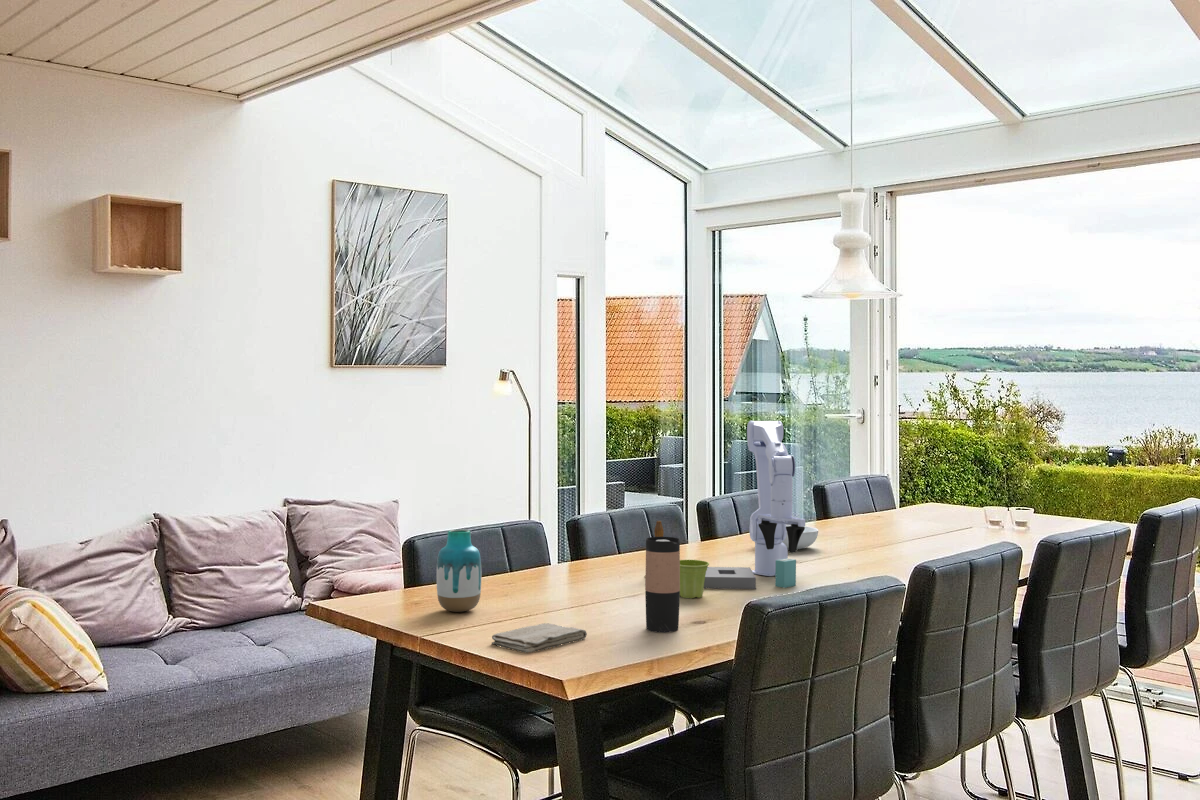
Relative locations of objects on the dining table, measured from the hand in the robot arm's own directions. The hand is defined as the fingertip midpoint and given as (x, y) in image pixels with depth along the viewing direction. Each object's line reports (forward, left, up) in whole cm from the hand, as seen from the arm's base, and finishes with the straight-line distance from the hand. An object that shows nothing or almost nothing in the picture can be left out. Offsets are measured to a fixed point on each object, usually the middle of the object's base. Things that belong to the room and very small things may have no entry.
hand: (781, 550), depth 294 cm
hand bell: (+16, -30, -10) cm, 36 cm away
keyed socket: (+8, -12, -9) cm, 17 cm away
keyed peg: (-1, +1, -10) cm, 10 cm away
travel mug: (+61, +15, -10) cm, 64 cm away
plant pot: (+29, -6, -10) cm, 31 cm away
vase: (+84, -30, -10) cm, 90 cm away
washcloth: (+89, +6, -10) cm, 90 cm away
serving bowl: (-54, -40, -10) cm, 68 cm away
